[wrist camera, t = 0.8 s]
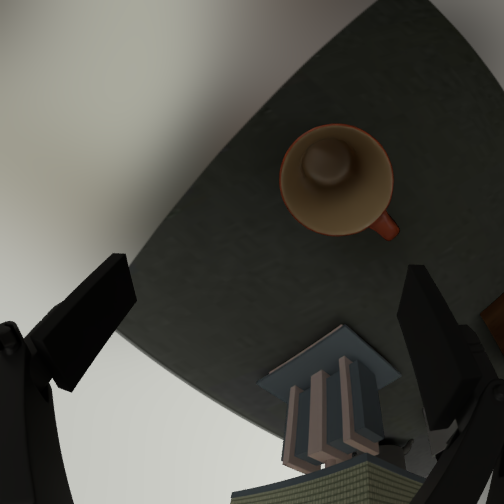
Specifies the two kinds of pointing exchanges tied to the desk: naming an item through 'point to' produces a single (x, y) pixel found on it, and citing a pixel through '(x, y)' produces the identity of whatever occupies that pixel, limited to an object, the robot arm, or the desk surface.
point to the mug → (338, 182)
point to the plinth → (495, 321)
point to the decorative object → (439, 437)
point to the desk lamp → (334, 427)
